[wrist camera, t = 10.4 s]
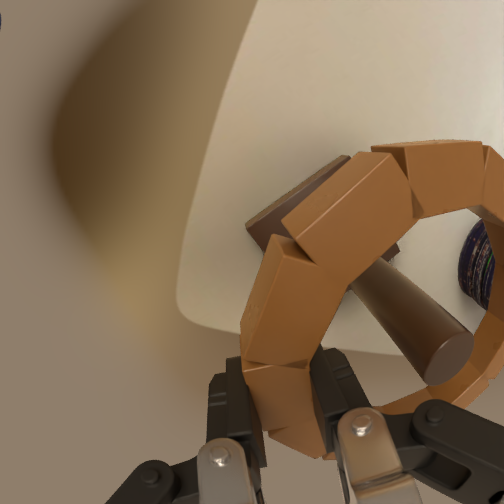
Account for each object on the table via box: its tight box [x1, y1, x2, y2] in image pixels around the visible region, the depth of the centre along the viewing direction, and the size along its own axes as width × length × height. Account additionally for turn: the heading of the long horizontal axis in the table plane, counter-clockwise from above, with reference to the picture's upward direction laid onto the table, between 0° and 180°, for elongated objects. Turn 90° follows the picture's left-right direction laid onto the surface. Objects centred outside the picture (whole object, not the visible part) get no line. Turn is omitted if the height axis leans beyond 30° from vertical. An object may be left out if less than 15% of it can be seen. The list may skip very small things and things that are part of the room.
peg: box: [245, 155, 474, 386], centre depth 15 cm, size 9×9×16 cm
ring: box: [240, 140, 504, 460], centre depth 10 cm, size 14×14×2 cm
